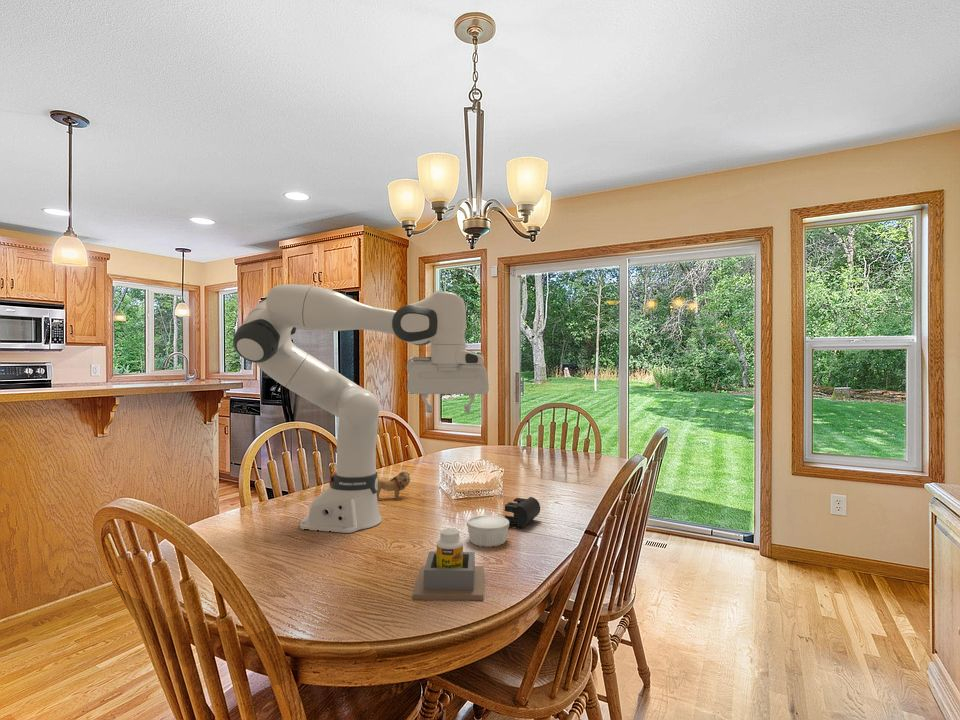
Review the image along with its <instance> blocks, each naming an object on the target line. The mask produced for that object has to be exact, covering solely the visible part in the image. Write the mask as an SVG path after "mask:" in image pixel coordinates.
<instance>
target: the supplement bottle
mask: <svg viewBox="0 0 960 720" xmlns="http://www.w3.org/2000/svg"><path fill="white" fill-rule="evenodd" d="M439 534H440V535H439V537H440V538H439V539H438V540H437V541H436V552H437V568H463V552H464V542H463V540H462V538H460V530H459V529H457V528H444V529H442V530H440V533H439Z"/></svg>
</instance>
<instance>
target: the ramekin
mask: <svg viewBox="0 0 960 720" xmlns="http://www.w3.org/2000/svg"><path fill="white" fill-rule="evenodd" d="M466 526H467V530H468V538H469V541H470V542H471V543H472V544H473V545H475V544H476V545H475V546H477V545H479V546H478V547H482V546H484V548H491V547H492V546H495V547H498V545H499V546H501V544H502V545H503V544H505V542H506V541H507V538H508V531H509V528H510V527H509V520H508V519H506V518H505V516H504V517H503V516H499V515H492V514H491V515H489V514H485V515H477V516H472V517H470V518H468V519H467V520H466Z"/></svg>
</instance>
